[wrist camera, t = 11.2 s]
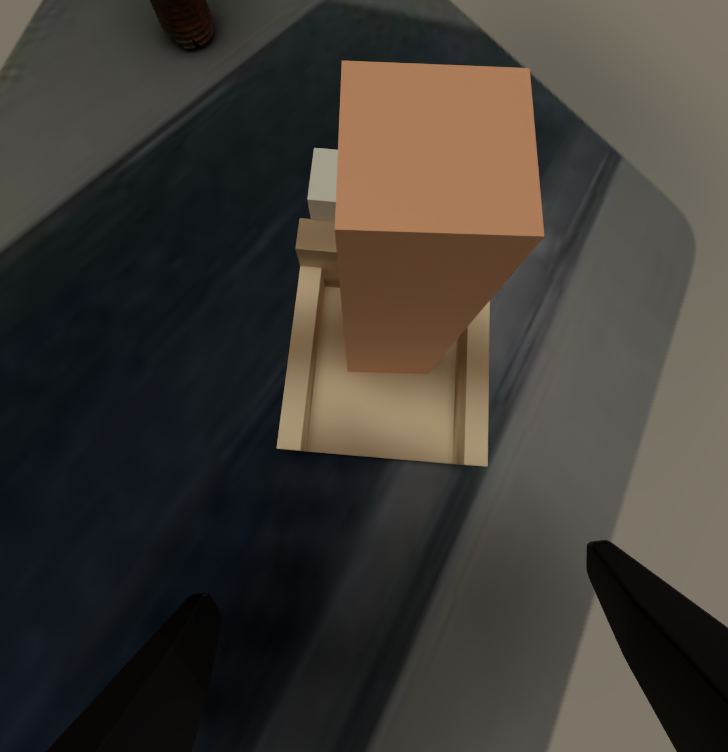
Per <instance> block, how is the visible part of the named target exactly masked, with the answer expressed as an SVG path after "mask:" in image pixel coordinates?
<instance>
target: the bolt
mask: <svg viewBox="0 0 728 752" xmlns="http://www.w3.org/2000/svg"><path fill="white" fill-rule="evenodd" d="M150 2H151V4H152V7H153V9H154V10H155V13H156V16H157V17H158V20H159V22H160V24H161V27H162V28H163V30H164V31H165V32H166V33H168V34H169V35H170V36H171V37H172V38H173V39H174V40H175V41H176V42H178V43H181V44H182V45H183V47H184V48H185V49H190V50H191V49H193V48H195V45H194V44H193V41H192V39H193V40H194V41H195V42H197V43H198V44H199V45H200V46H204V45H205V44H206V43H207V42H208V41H209V39H210V38H211V36H212V34H213V29H214V27H213V22H212V17H211V14H210V10H209V8H208V5H207V2H206V0H150ZM190 37H191V38H192V39H191V38H190Z"/></svg>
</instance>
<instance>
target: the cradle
mask: <svg viewBox="0 0 728 752" xmlns="http://www.w3.org/2000/svg"><path fill="white" fill-rule="evenodd" d="M296 252H297V256H298V259H299V263H300V273H299V281H298V289H297V296H296V304H295V312H294V319H293V327H292V335H291V342H290V350H289V357H288V365H287V373H286V380H285V388H284V396H283V403H282V411H281V419H280V426H279V434H278V441H277V449H285V450H295V451H307V452H319V453H330V454H342V455H354V456H365V457H377V458H389V459H400V460H412V461H424V462H435V463H447V464H459V465H472V466H488V397H489V320H490V301H489V302H488V303H487V304H486V306H485V307H484V308H483V309H482V310H481V311H480V313H479V314H478V315H477V316H476V317H475V318H474V320H473V321H472V322H471V323H470V324H469V326H468V327H467V328H466V329H465V330H464V331H463V333H462V334H461V335H460V336H459V337H458V338H457V340H456V341H455V342H454V343H453V344H452V346H451V347H450V348H449V349H448V350H447V351H446V353H445V354H444V355H443V356H442V357H441V358H440V360H439V361H438V362H437V363H436V364H435V366H434V367H433V368H432V369H431V370H430V371H429V373H428V374H416V373H378V372H348V371H347V360H346V349H345V338H344V327H343V316H342V305H341V294H340V283H339V272H338V261H337V250H336V239H335V221H326V220H314V219H303V218H300V220H299V227H298V235H297V242H296Z"/></svg>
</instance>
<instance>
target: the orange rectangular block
mask: <svg viewBox="0 0 728 752" xmlns="http://www.w3.org/2000/svg"><path fill="white" fill-rule="evenodd" d="M543 237H544V227H543V216H542V205H541V194H540V182H539V171H538V160H537V148H536V137H535V126H534V114H533V103H532V92H531V80H530V69H529V68H511V67H486V66H461V65H437V64H412V63H387V62H363V61H342V72H341V95H340V118H339V141H338V164H337V187H336V210H335V239H336V250H337V261H338V272H339V283H340V294H341V305H342V316H343V327H344V338H345V349H346V360H347V371H348V372H378V373H416V374H428V373H429V371H430V370H431V369H432V368H433V367H434V366H435V364H436V363H437V362H438V361H439V360H440V358H441V357H442V356H443V355H444V354H445V353H446V351H447V350H448V349H449V348H450V347H451V346H452V344H453V343H454V342H455V341H456V340H457V338H458V337H459V336H460V335H461V334H462V333H463V331H464V330H465V329H466V328H467V327H468V326H469V324H470V323H471V322H472V321H473V320H474V318H475V317H476V316H477V315H478V314H479V313H480V311H481V310H482V309H483V308H484V307H485V306H486V304H487V303H488V302H489V301H490V300H491V299H492V297H493V296H494V295H495V294H496V293H497V291H498V290H499V289H500V288H501V287H502V286H503V284H504V283H505V282H506V281H507V280H508V279H509V277H510V276H511V275H512V274H513V273H514V271H515V270H516V269H517V268H518V267H519V266H520V264H521V263H522V262H523V261H524V260H525V259H526V257H527V256H528V255H529V254H530V253H531V252H532V250H533V249H534V248H535V247H536V246H537V244H538V243H539V242H540V241H541V240H542V239H543Z"/></svg>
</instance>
